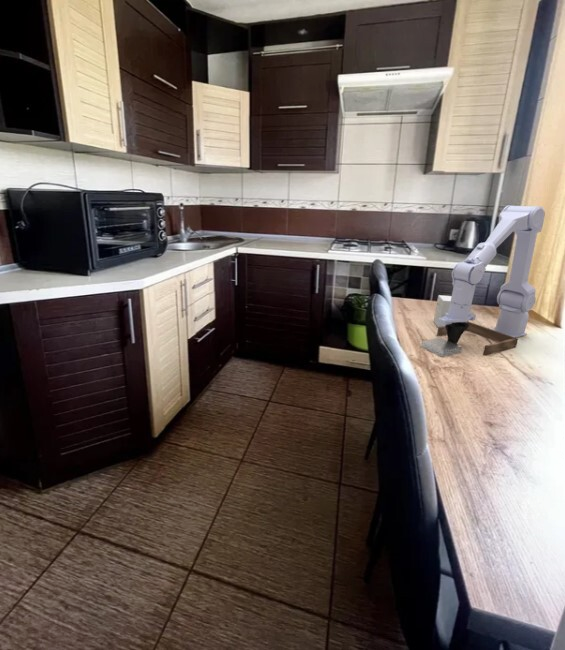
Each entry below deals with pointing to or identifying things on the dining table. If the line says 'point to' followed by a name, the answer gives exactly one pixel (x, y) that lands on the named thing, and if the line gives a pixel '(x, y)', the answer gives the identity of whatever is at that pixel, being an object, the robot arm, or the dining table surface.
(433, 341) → the cover plate
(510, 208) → the robot arm
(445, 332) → the brown u-shaped frame
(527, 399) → the dining table surface
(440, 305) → the small box
